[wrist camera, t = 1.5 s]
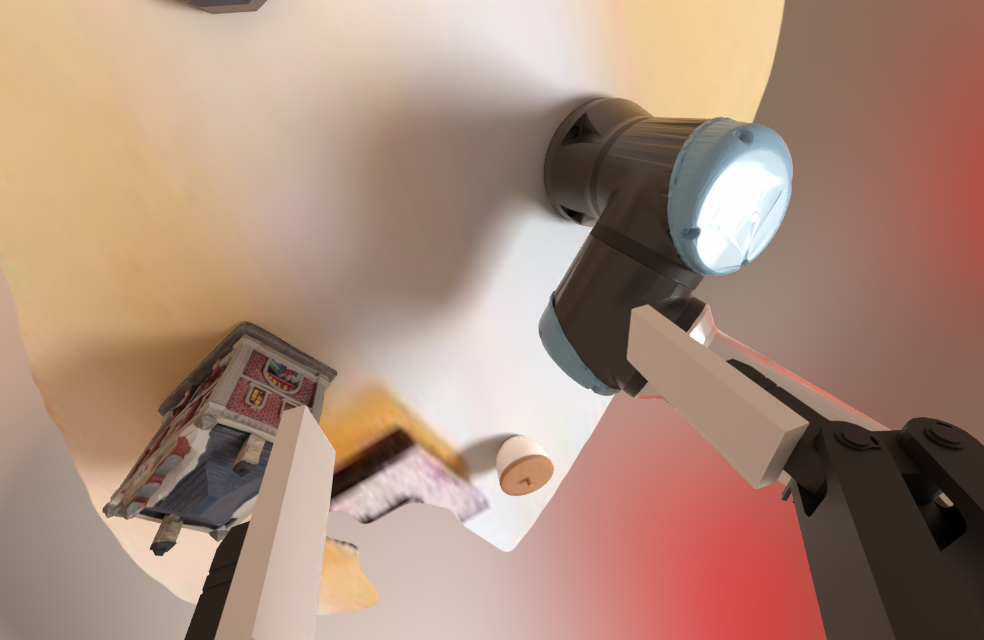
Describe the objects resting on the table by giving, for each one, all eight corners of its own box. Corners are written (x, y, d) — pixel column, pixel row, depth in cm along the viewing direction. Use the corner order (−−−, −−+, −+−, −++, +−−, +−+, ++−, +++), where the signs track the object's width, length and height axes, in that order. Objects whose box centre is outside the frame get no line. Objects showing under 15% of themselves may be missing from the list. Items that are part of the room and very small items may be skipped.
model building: (244, 317, 44) (166, 446, 27) (341, 371, 51) (325, 496, 35) (157, 408, 46) (38, 574, 30) (260, 446, 54) (211, 594, 38)
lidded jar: (486, 466, 73) (499, 508, 65) (494, 430, 68) (509, 471, 60) (532, 459, 76) (550, 498, 69) (543, 424, 71) (563, 462, 63)
